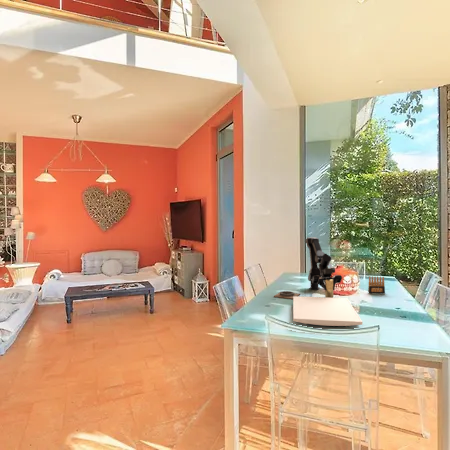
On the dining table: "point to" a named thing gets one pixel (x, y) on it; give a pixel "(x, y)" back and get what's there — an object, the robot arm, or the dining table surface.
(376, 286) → the ammunition clip
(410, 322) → the dining table surface
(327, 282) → the brass roller
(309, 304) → the board
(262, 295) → the dining table surface
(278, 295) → the collar plate
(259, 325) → the dining table surface
